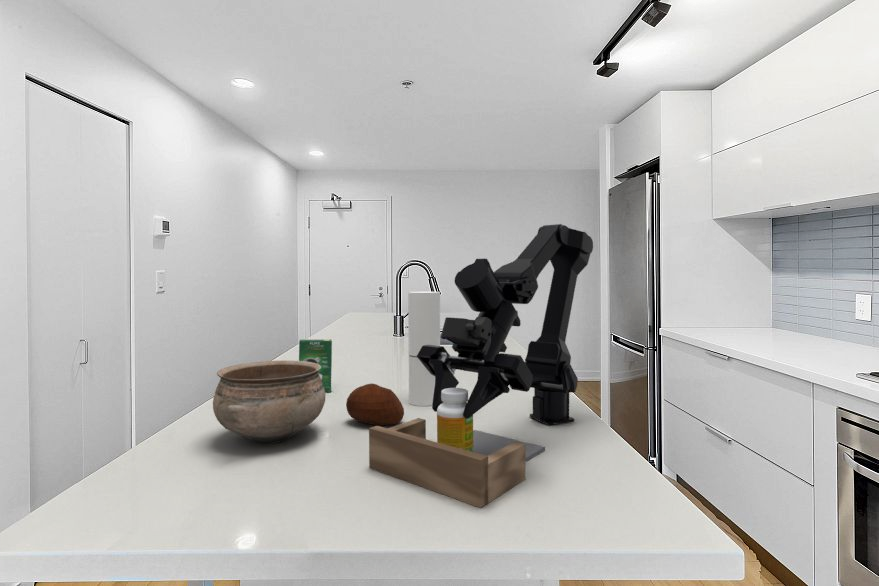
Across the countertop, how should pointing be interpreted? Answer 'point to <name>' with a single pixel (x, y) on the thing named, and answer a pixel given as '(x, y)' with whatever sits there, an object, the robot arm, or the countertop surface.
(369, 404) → the potato
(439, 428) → the supplement bottle
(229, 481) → the countertop surface
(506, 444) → the mat
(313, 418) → the cooking pot
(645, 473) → the countertop surface
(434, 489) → the brown walled open frame
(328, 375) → the coffee box
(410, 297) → the cylindrical container
